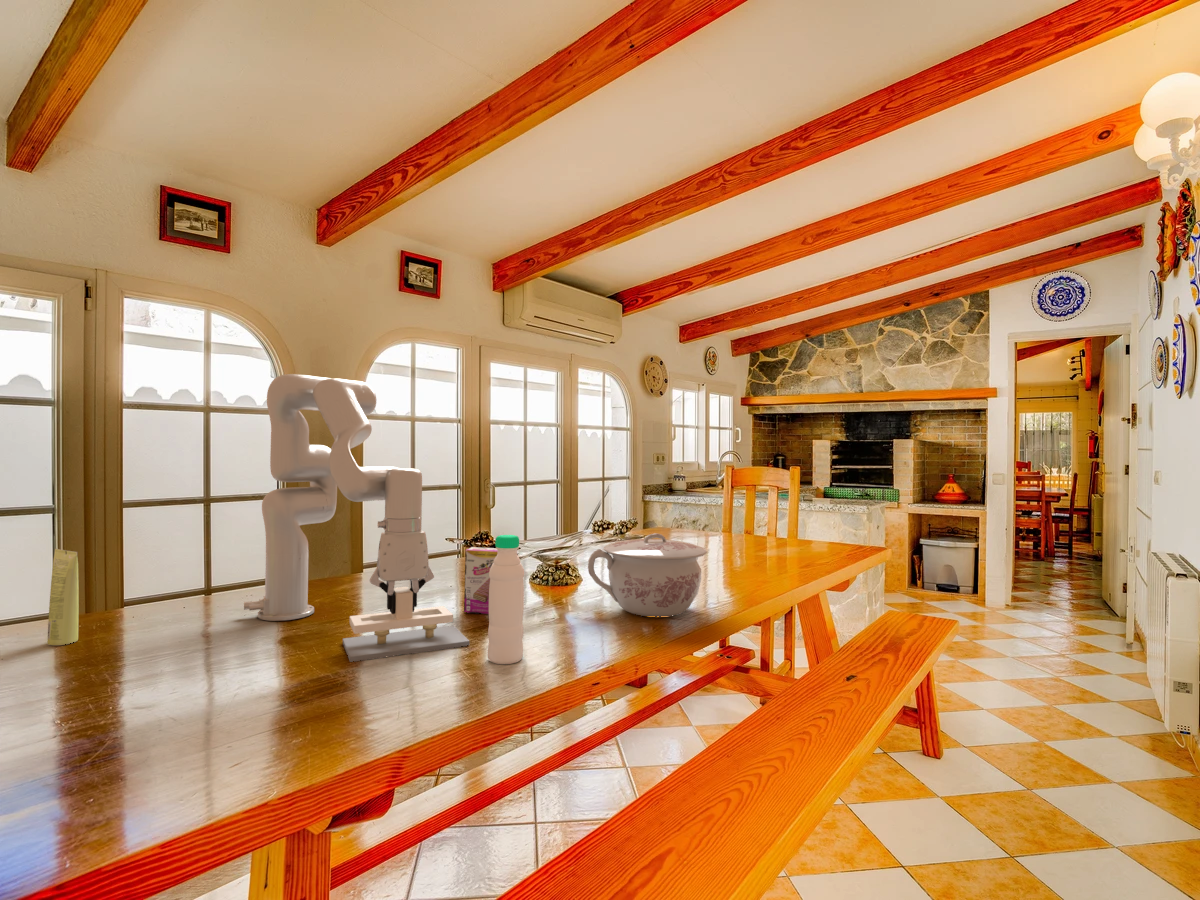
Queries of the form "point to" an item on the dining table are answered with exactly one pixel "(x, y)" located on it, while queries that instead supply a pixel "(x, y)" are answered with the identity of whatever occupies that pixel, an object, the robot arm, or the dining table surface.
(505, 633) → the water bottle
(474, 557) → the candy bar box
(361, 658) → the board
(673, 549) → the chamber pot
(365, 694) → the dining table surface
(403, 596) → the pink tray with post
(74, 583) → the tube
